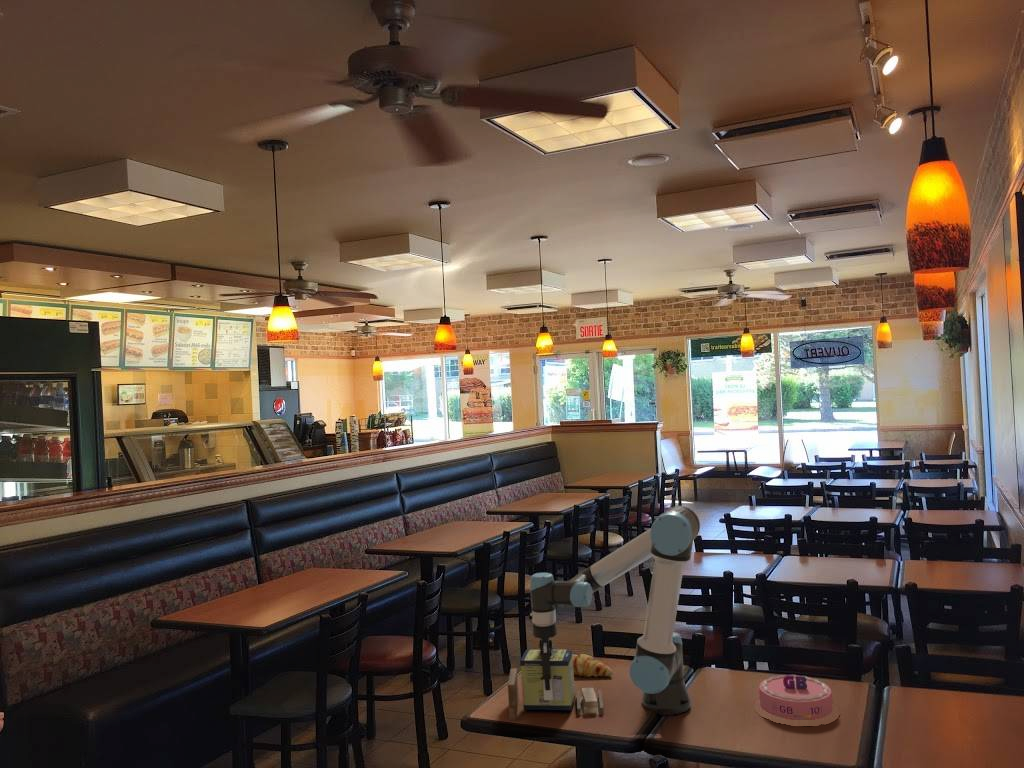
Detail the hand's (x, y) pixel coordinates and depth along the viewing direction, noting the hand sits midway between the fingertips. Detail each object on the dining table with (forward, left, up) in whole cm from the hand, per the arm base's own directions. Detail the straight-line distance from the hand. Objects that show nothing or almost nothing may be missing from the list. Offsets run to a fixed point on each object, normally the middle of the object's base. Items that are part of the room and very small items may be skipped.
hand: (548, 692), depth 251 cm
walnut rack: (-3, 0, -6) cm, 6 cm away
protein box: (0, 0, -4) cm, 4 cm away
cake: (-75, +5, -6) cm, 76 cm away
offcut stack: (-13, 0, -5) cm, 14 cm away
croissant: (-12, -31, -6) cm, 34 cm away
